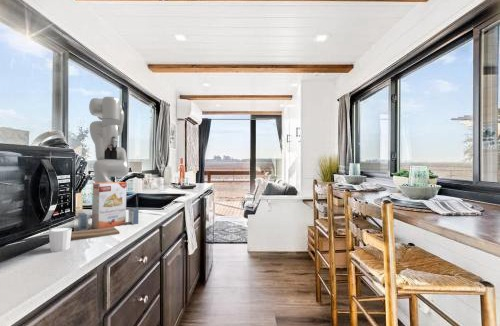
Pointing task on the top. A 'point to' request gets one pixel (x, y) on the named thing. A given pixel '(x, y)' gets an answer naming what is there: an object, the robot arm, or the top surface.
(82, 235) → the walnut board
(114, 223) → the cracker box
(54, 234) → the white short tapered cylinder
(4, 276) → the top surface
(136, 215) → the twin grey pillars
